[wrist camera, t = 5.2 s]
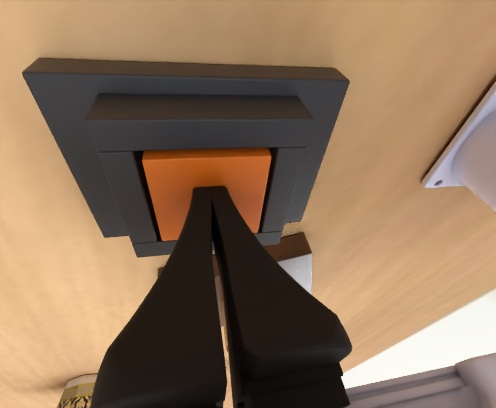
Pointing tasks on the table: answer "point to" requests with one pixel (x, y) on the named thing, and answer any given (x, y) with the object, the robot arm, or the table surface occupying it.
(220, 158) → the switch button
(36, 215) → the table surface
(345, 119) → the table surface
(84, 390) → the ceramic cup
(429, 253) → the table surface
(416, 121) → the table surface
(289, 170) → the switch plate
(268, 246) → the dimmer plate
